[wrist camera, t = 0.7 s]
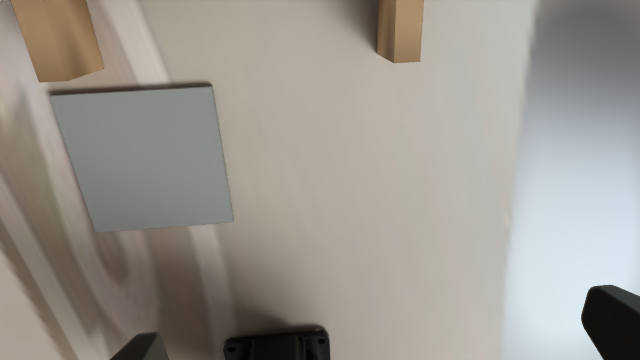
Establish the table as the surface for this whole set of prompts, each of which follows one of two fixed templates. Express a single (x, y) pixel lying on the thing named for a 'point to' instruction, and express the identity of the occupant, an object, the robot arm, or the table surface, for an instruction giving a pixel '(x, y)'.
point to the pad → (147, 157)
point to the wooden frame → (84, 57)
